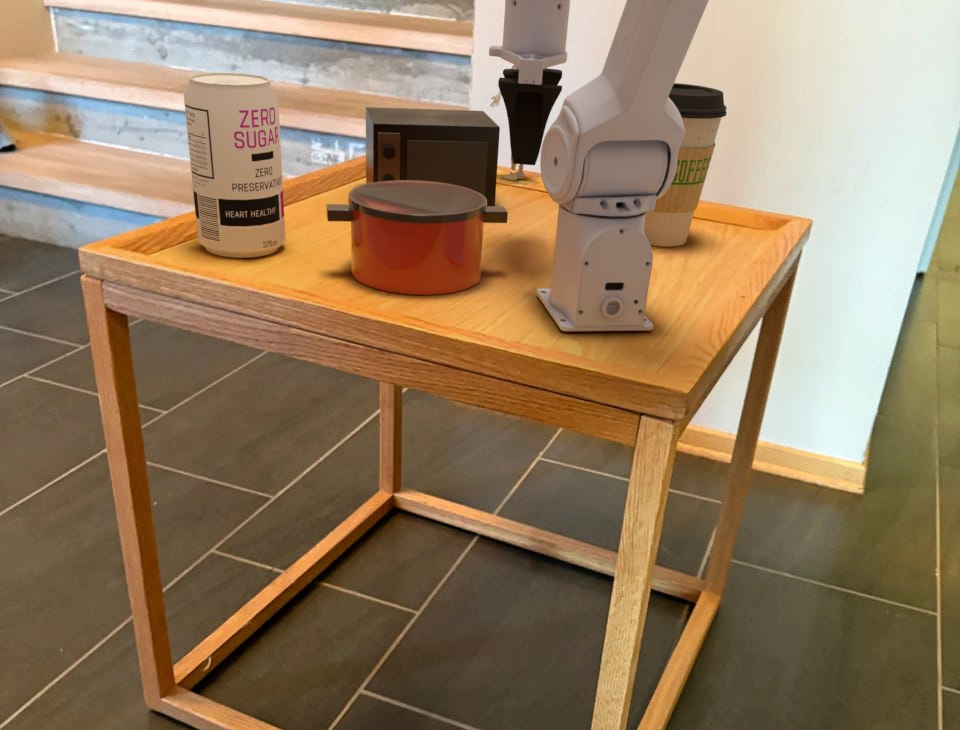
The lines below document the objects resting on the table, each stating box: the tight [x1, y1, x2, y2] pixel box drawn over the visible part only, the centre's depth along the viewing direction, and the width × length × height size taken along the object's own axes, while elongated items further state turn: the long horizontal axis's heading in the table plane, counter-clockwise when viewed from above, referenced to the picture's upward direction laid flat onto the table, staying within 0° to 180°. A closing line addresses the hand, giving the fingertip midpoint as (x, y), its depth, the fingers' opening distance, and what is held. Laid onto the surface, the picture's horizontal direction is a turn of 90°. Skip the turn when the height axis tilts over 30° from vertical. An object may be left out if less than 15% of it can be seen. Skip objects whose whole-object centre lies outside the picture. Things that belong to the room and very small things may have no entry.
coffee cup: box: [644, 82, 728, 248], centre depth 100 cm, size 10×10×15 cm
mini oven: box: [365, 106, 501, 206], centre depth 110 cm, size 11×14×9 cm
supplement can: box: [183, 72, 286, 259], centre depth 89 cm, size 8×8×15 cm
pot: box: [325, 180, 509, 296], centre depth 87 cm, size 12×16×7 cm
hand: (525, 156), depth 91 cm, fingers open, 6 cm apart
